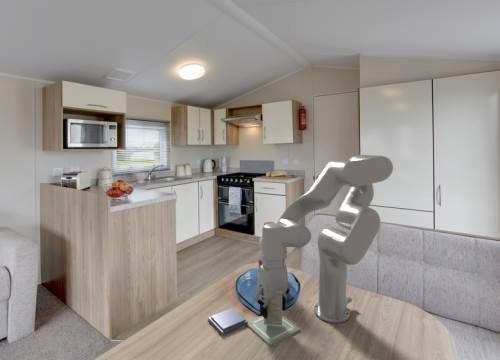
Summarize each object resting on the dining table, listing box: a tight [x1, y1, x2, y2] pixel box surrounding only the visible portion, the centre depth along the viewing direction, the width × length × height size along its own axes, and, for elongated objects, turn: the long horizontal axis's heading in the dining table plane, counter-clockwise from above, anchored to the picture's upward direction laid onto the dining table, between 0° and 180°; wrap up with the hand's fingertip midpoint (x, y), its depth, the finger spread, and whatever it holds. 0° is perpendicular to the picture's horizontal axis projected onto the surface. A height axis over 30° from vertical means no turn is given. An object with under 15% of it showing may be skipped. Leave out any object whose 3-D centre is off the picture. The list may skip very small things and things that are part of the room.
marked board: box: [246, 315, 301, 347], centre depth 95 cm, size 13×13×1 cm
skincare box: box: [263, 289, 283, 325], centre depth 94 cm, size 6×4×12 cm
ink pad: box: [208, 307, 249, 337], centre depth 98 cm, size 10×10×2 cm
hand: (272, 312), depth 95 cm, fingers closed on skincare box, 7 cm apart
